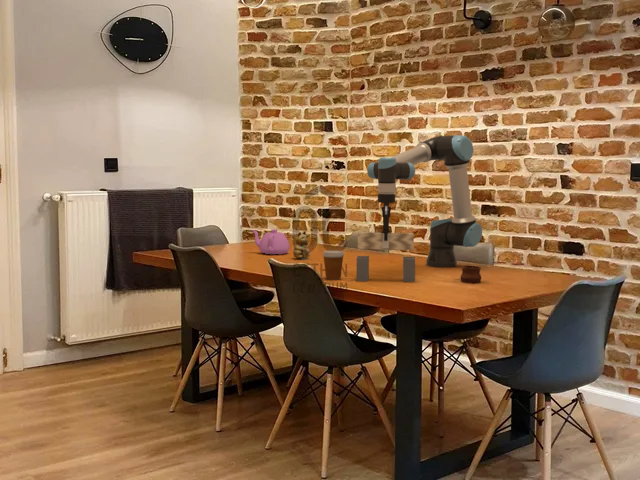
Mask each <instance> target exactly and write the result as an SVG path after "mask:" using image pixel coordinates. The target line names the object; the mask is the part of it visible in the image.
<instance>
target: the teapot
mask: <svg viewBox="0 0 640 480" xmlns="http://www.w3.org/2000/svg"><path fill="white" fill-rule="evenodd" d="M251 231H252V232H253V233H254V243H255V245H256V246H257V247H258V250H259V252H260V253H262V254H263V253H265V255H266V254H270V255H276V254H281V255H286V254H287V253H288V252H289V251H290V249H291V247H290V242H289V240H288V238H287V237H286V235H285V233H283V232H278V229H275V228H273V229H271V230H270V232H265V233H264V234H263V236H262V238H261V239H260V238H259V233H258V231H257V230H255V229H251Z"/></svg>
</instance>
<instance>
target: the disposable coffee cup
mask: <svg viewBox="0 0 640 480" xmlns="http://www.w3.org/2000/svg"><path fill="white" fill-rule="evenodd" d="M344 256H345V254H344V251H343V250H333V249H332V250H324V251H323V253H322V257H323V261H324V262H323V263H324V271H325V279H326V280H330V281H332V280H336V281H337V280H341V276H342V269H343V261H344Z"/></svg>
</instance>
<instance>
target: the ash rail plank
mask: <svg viewBox="0 0 640 480" xmlns="http://www.w3.org/2000/svg"><path fill="white" fill-rule="evenodd" d="M414 234H415V233H412V232H411V233H410V232H409V233H407V232H405V233H404V232H400V233H399V232H389V248H383V233H381V232H372V231H371V232H370V231H369V232H366V231H365V232H363V231H358V232H357V249H358V250H391V251H393V250H394V251H395V250H396V251H398V250H399V251H413V250H414V245H415V243H414V239H415V237H414V236H415V235H414Z"/></svg>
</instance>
